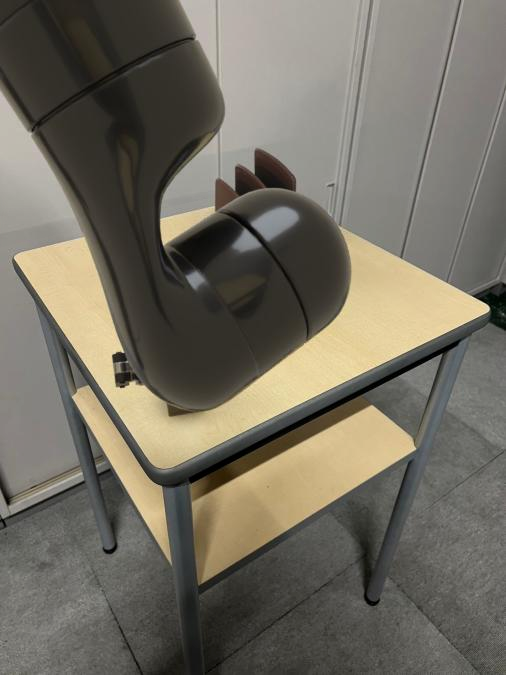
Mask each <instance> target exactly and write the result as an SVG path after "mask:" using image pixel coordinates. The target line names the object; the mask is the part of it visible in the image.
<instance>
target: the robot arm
mask: <svg viewBox="0 0 506 675" xmlns="http://www.w3.org/2000/svg"><path fill="white" fill-rule="evenodd" d="M0 93H1V94H2V96H3V97H4V98H5V100H6V102H7V103H8V105H9V106H10V108H11V109H12V111H13V112H14V114H15V115H16V117H17V119H18V120H19V121H20V123H21V125H22V127H24V129H25V131H26V132H27V133H30V134H31V135H30V137H31V139H32V141H33V142H34V144H35V146H36V147H37V148H38V150H39V152H40V153H41V155H42V156H43V158H44V160H45V161H46V164H47V165H48V167H49V168H50V170H51V172H52V173H53V175H54V177H55V179H56V180H57V182H58V184H59V186H60V188H61V190H62V192H63V193H64V195H65V198H66V200H67V201H68V204H69V206H70V208H71V210H72V212H73V214H74V216H75V218H76V221H77V223H78V226H79V228H80V230H81V232H82V235H83V238H84V240H85V243H86V245H87V247H88V251H89V252H90V255H91V258H92V261H93V264H94V266H95V270H96V272H97V275H98V278H99V281H100V284H101V287H102V291H103V295H104V298H105V300H106V304H107V307H108V310H109V314H110V318H111V320H112V324H113V327H114V329H115V333H116V336H117V338H118V340H119V344H120V346H121V348H122V351H116V352H115V353H113V354H111V359H112V360H111V361H112V368H113V376H114V383H115V388H119V389H125V388H126V387H128V386H130V383H135V386H139V387H142V386H144V387H145V388H146V389H147V390H148V391H149V392H150V393H152V394H153V395H154V396H155V397H156V398H158V399H159V400H161V401H162V402H164V403H166V404H167V403H168V404H170V405H173V406H175V407H177V408H180V409H184V410H189V411H198V412H208V411H212V410H215V409H217V408H219V407H222V406H223V405H225V404H227V403H228V402H230V401H231V400H233V399H234V398H235V397H237V396H238V395H240V394H241V393H242V392H244V391H245V390H246V389H248V388H249V387H250V386H252V385H253V384H254V383H255V382H257V381H258V380H259V379H261V378H262V377H263V376H265V375H266V374H267V373H268V372H270V371H271V370H272V369H274V368H275V367H277V366H278V365H279V364H280V363H282V362H283V361H284V360H287V358H289V356H291V355H292V354H294V353H296V351H297V350H299V349H300V348H302V347H303V346H304V345H305V344H307V343H308V342H310V341H311V340H312V339H314V338H315V337H316V336H317V335H319V334H320V333H321V332H323V331H324V330H325V329H326V328H328V327H329V326H330V325H331V324H332V323H333V322H334V321H335V320H336V319H337V318H338V316H339V315H340V314H341V312H342V311H343V309H344V308H345V305H346V302H347V299H348V297H349V295H350V290H351V285H352V260H351V255H350V251H349V250H350V249H349V248H348V244H347V242H346V241H347V240H346V239H345V236H344V234H343V232H342V230H341V229H340V227H339V226H338V224H337V223H336V221H335V220H334V218H333V217H332V216H331V214H329V212H327V211H326V210H325V208H323V207H322V206H321V205H320V204H319V203H318V202H316V201H315V200H313V199H311V197H308V196H306V195H304V194H303V193H300V192H297V191H296V192H294V191H290V190H286V189H281V188H264V189H259V190H255V191H252V192H249V193H247V194H244V195H242V196H240V197H238V198H236V199H235V200H233V201H231V202H230V203H228V204H227V205H225V206H224V207H222V208H220V209H219V210H217V211H216V212H215V211H214V213H211V214H209V215H208V216H206V217H205V218H203V219H202V220H200V221H199V222H196V223H195V224H194V225H192V226H190V228H188V229H186V230H185V231H183V232H181V233H180V234H179V235H176V237H174V238H172V239H171V240H169V241H168V242H166V243H165V244H164V243H163V237H162V228H161V214H162V213H161V212H162V202H163V199H164V196H165V193H166V191H167V189H168V188H169V187H170V185H171V183H172V182H173V181H174V179H175V178H176V177H177V175H179V173H180V172H182V170H183V169H184V168H185V167H186V166H187V165H188V164H189V163H190V162H192V161H193V159H194V158H195V157H196V156H198V155H199V154H200V152H201V151H203V149H205V148H206V147H207V145H209V144H210V143H211V141H212V140H213V139H214V138H215V137H216V136H217V134H218V133H219V131H220V130H221V128H222V126H223V124H224V121H225V116H226V103H225V98H224V94H223V91H222V89H221V86H220V83H219V80H218V78H217V76H216V73H215V71H214V69H213V66H212V65H211V61H210V60H209V57H208V56H207V55H206V52H205V50H204V48H203V46H202V44H201V42H200V40H198V39H197V34H196V31H195V29H194V27H193V25H192V23H191V21H190V18H189V17H188V15H187V13H186V10H185V8H184V7H183V4H182V2H181V0H0Z"/></svg>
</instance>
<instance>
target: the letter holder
mask: <svg viewBox="0 0 506 675" xmlns="http://www.w3.org/2000/svg"><path fill="white" fill-rule="evenodd" d="M253 154H254V155H253V159H254V160H253V162H254V164H253V167H254V168H253V169H254V170H253V171H254V172H252V171H251V170H249V168H247V167H246V166H244V165H242V164H239V163H236V164H235V166H234V188H233V187H231V185H229V184H228V183H227V182H226V181H224V180H223V179H221V178H220V177H216V178H215V181H214V183H215V184H214V188H215V190H214V213H215V212H216V211H217V210H219V209H220V208H222V207H224V206H225V205H227V204H228V203H230V202H231V201H233V200H235V199H236V198H238V197H240V196H242V195H244V194H247V193H249V192H252V191H255V190H259V189H264V188H281V189H286V190H290V191H294V192H297V179H296V176H295V175H294V174H293V173H292V171H291V170H290V169H289V168H288V167H287V166H286V165H285V164H284V163H283V162H282V161H280V160H279V159H278V158H276V157H275V156H274V155H272V154H271V153H269V152H267V151H266V150H264V149H261V148H259V147H256V148H255V149H254V153H253Z"/></svg>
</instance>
